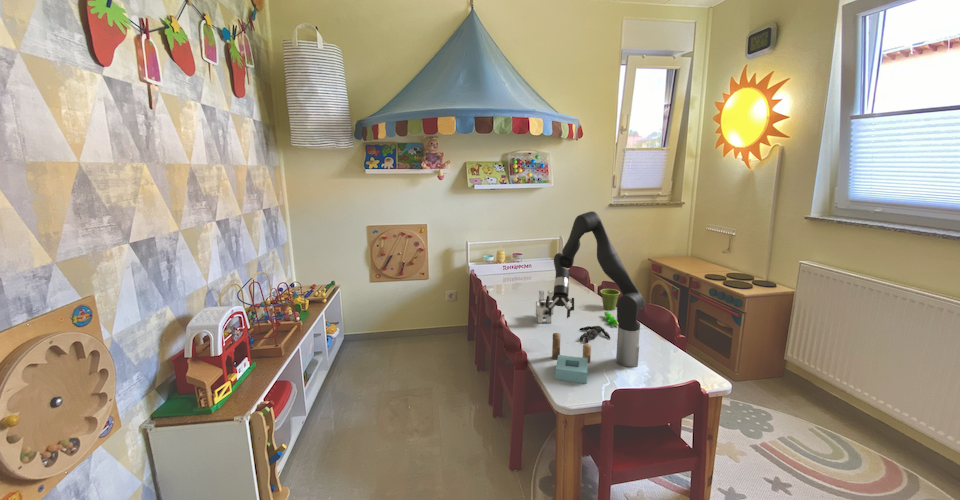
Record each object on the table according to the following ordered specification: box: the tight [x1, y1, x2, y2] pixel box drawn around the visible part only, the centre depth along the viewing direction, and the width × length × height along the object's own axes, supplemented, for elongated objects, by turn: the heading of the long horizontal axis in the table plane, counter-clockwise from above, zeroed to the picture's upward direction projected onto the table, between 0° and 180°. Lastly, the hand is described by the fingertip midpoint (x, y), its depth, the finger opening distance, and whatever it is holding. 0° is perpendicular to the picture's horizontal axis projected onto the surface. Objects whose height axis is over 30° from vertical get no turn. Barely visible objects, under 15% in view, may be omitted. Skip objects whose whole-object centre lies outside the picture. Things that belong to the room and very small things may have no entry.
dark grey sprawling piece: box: [579, 325, 611, 344], centre depth 209 cm, size 18×4×20 cm
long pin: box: [551, 332, 561, 361], centre depth 185 cm, size 4×4×12 cm
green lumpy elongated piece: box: [603, 311, 618, 327], centre depth 227 cm, size 7×18×4 cm, turn 2°
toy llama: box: [535, 290, 554, 325], centre depth 228 cm, size 8×18×20 cm, turn 1°
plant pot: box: [599, 288, 621, 311], centre depth 248 cm, size 12×12×11 cm
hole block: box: [555, 354, 589, 384], centre depth 171 cm, size 13×13×5 cm
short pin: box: [581, 343, 592, 364], centre depth 181 cm, size 4×4×8 cm
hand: (558, 316), depth 193 cm, fingers open, 8 cm apart
